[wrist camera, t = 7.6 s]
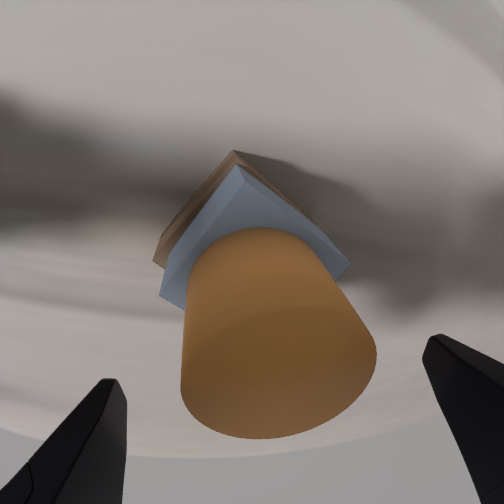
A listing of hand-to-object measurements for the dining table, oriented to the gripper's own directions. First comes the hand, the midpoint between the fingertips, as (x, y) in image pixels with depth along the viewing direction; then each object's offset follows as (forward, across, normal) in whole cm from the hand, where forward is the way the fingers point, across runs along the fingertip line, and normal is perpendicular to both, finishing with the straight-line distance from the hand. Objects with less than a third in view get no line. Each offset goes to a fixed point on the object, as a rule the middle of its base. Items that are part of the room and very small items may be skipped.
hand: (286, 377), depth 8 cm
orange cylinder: (+4, 0, 0) cm, 4 cm away
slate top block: (+8, 0, -1) cm, 8 cm away
